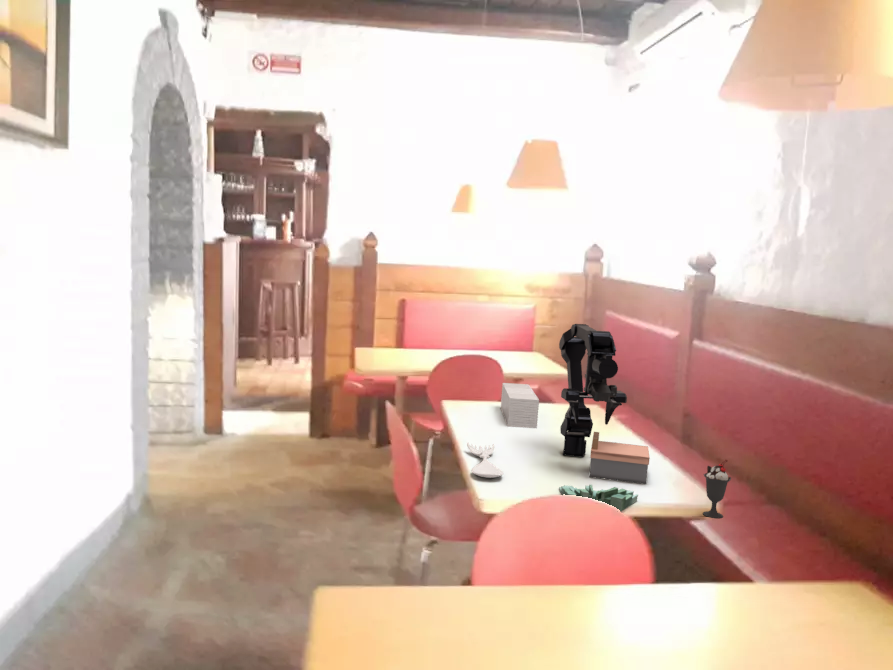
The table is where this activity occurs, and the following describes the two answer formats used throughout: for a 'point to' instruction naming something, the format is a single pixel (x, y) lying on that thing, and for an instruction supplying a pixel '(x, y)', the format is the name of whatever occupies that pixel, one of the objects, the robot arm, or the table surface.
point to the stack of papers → (519, 405)
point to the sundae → (716, 488)
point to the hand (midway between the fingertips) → (591, 423)
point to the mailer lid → (619, 451)
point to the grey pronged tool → (484, 463)
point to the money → (604, 495)
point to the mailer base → (618, 470)
